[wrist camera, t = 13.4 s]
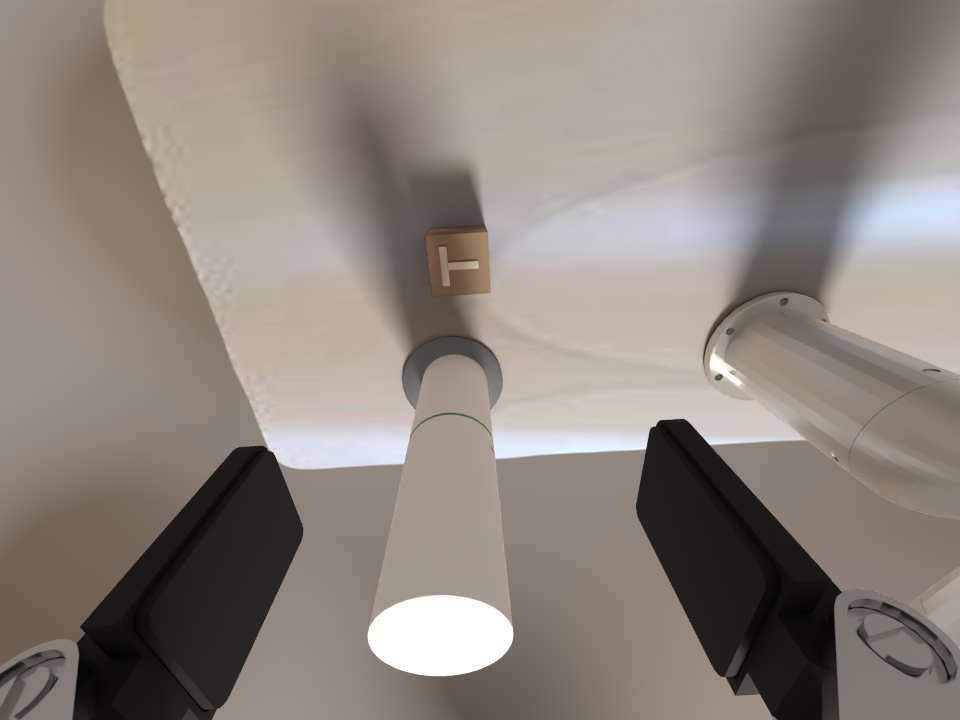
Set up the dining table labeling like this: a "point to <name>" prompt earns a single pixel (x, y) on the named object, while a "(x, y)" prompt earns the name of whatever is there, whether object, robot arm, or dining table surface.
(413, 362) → the charcoal mat
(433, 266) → the wooden letter cube
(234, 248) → the dining table surface
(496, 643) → the cylindrical container
